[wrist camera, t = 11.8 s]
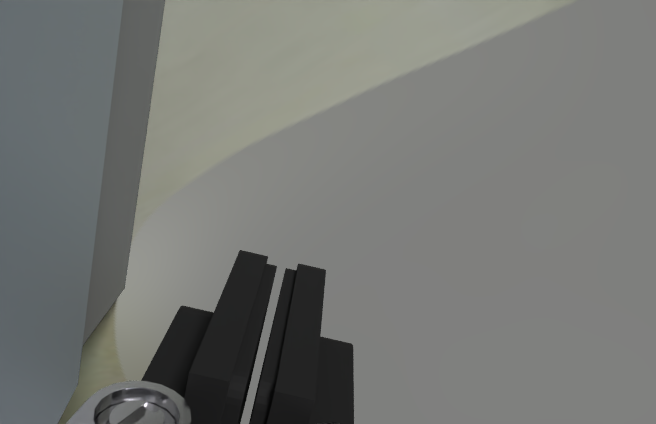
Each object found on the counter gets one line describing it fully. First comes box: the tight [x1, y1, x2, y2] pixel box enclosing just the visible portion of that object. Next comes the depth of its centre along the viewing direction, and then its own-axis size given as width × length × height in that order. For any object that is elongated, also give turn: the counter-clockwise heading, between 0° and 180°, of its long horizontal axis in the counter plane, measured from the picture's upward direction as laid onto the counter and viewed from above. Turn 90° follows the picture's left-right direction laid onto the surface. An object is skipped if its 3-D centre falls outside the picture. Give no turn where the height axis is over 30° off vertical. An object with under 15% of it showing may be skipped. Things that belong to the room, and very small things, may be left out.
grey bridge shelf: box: [82, 0, 165, 346], centre depth 29 cm, size 31×12×10 cm, turn 167°
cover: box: [0, 0, 123, 424], centre depth 19 cm, size 31×12×1 cm
